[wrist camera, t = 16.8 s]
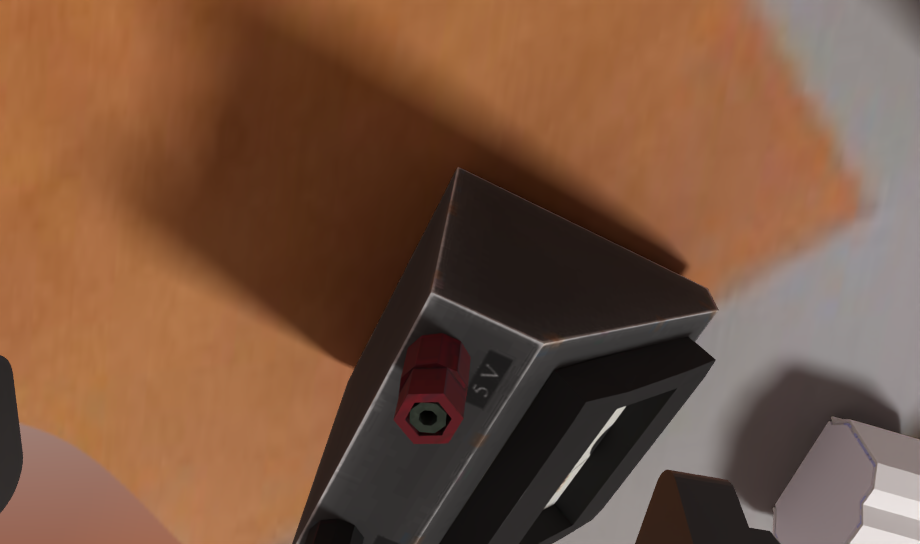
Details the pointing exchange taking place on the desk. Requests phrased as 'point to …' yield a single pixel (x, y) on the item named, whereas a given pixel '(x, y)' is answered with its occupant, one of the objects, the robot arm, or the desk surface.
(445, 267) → the voltmeter
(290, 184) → the desk surface
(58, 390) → the desk surface
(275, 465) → the desk surface
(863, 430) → the diorama
